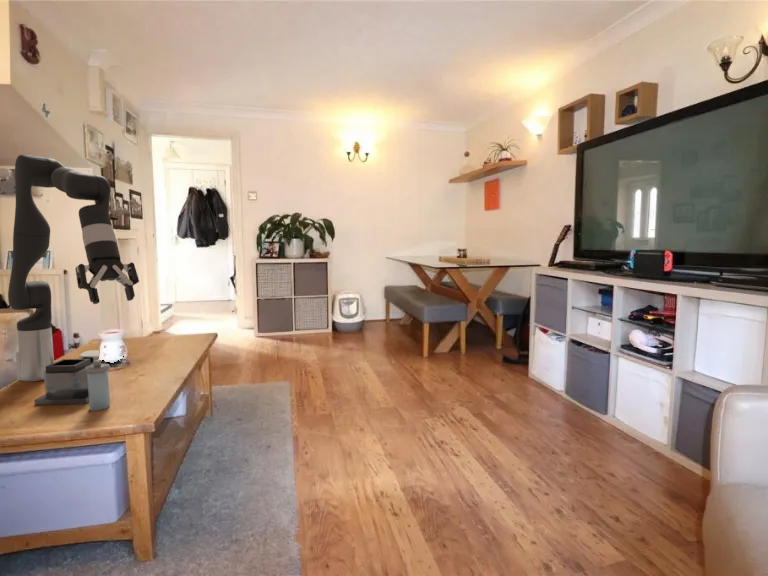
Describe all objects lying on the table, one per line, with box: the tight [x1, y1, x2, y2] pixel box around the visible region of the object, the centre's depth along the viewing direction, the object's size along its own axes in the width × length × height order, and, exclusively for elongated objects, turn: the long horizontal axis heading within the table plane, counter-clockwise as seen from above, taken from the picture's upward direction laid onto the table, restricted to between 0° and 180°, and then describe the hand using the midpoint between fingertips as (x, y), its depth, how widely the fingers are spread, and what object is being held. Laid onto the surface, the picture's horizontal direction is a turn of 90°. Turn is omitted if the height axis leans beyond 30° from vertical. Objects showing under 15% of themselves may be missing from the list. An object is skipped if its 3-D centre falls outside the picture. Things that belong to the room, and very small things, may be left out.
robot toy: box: [75, 349, 99, 365], centre depth 172 cm, size 12×4×15 cm
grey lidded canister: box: [85, 360, 111, 412], centre depth 126 cm, size 6×6×14 cm
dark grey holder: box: [34, 358, 91, 406], centre depth 134 cm, size 14×14×11 cm
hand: (114, 301), depth 118 cm, fingers open, 8 cm apart
